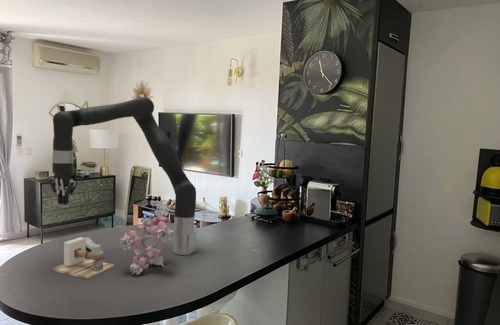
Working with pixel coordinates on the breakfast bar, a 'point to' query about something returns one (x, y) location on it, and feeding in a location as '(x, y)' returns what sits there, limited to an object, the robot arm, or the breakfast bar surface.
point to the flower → (152, 232)
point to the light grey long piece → (93, 246)
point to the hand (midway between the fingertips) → (63, 204)
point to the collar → (69, 250)
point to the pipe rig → (85, 265)
